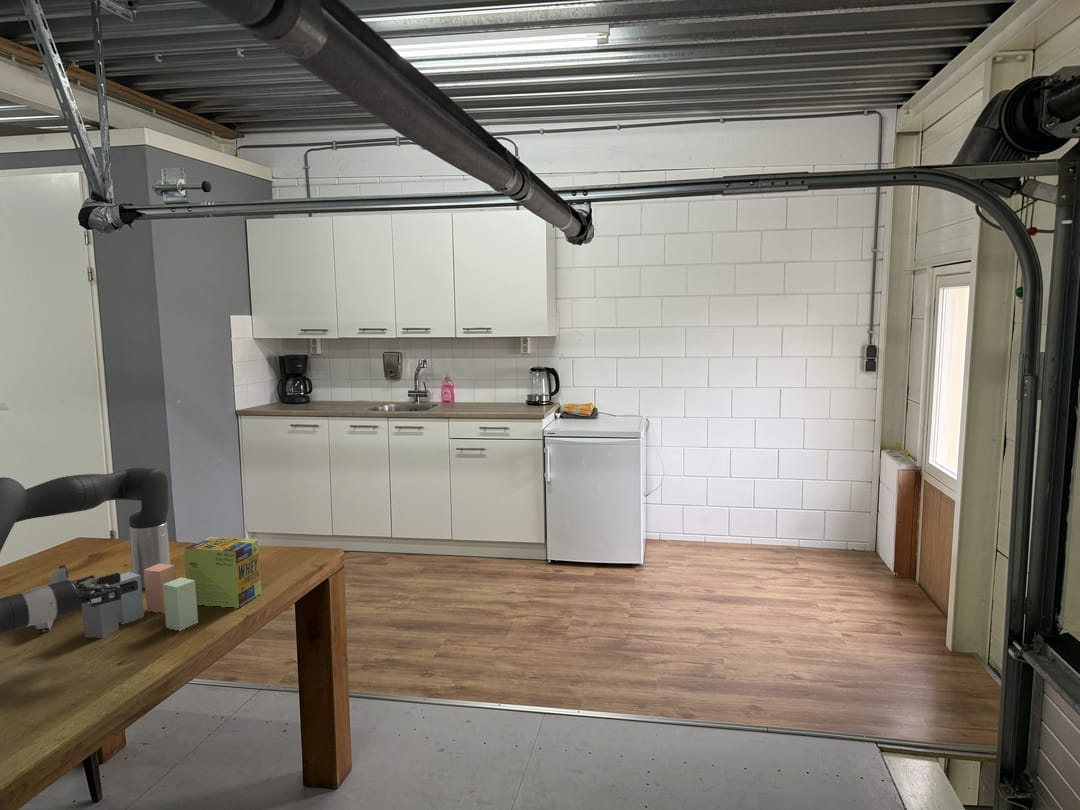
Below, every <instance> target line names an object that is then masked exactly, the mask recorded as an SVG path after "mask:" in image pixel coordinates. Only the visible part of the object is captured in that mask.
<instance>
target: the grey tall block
mask: <svg viewBox="0 0 1080 810" xmlns="http://www.w3.org/2000/svg"><path fill="white" fill-rule="evenodd" d="M109 586H111V585H109ZM102 590H103V589H102ZM110 594H114V592H113V593H110ZM81 611H82V612H81V613H82V622H83V623H82V624H83V634H84V637H85V636H90V637H89V638H93V637H99V638H98V639H104V638H106V637H108V636H110V635H111V634H110V633H112V632H113V633H115V632H117V631H118V629H119V630H120V626H119V624H120V623H119V622H118V611H117V600H116V601H112V602H109V603H105V604H101V605H98V606H94V607H91V604H90V603H88V604H86V603H81ZM116 630H117V631H116ZM114 631H115V632H114ZM113 633H112V634H113ZM109 634H110V635H109ZM107 635H108V636H107ZM105 636H106V637H105ZM103 637H104V638H103Z"/></svg>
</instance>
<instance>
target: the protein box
mask: <svg viewBox="0 0 1080 810" xmlns="http://www.w3.org/2000/svg"><path fill="white" fill-rule="evenodd" d="M183 553H184V567H185V578H186V579H191V580H195V588H196V601H197V606H201V605H205V606H204V607H213V606H221V607H220V608H225V607H234V608H233V609H237V608H239V607H240V608H241V606H242V605H243V606H245V605H246V604H248V603H249V601H250V600H251V601H253V600H254V599H255V597H256V598H257V597H259V596H260V595H262V579H261V566H260V565H261V564H260V550H259V539H257V538H239V537H219V536H208V537H206V538H205V539H202V540H200V541H197V542H195V543H193V544H191V545H188V546H186V547H185V548H183ZM258 595H259V596H258ZM252 599H253V600H252ZM251 601H250V602H251ZM247 602H248V603H247ZM245 603H246V604H245ZM244 604H245V605H244ZM243 606H242V607H243ZM240 608H239V609H240Z"/></svg>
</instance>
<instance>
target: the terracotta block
mask: <svg viewBox="0 0 1080 810" xmlns="http://www.w3.org/2000/svg"><path fill="white" fill-rule="evenodd" d="M144 579H145V588H144V589H145V590H144V591H145V600H146V602H145V603H146V611H147V612H150V611H153V612H152V613H158V612H161V613H160V614H164V613H165V606H164V594H163V584H165V583H167V582H170V581H173V580H175V579H177V577H176V565H175V564H170V565H169V564H160V563H159V564H157V565H154V566H152V567H150V568H147V569H145V570H144ZM163 612H164V613H163Z"/></svg>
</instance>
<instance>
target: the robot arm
mask: <svg viewBox="0 0 1080 810" xmlns="http://www.w3.org/2000/svg"><path fill="white" fill-rule="evenodd" d="M119 500H123V501H124V500H125V501H126V500H127V501H128V500H129V501H138V502H139V501H140V502H141V507H140V511H138V512H134V513H133V514H131V515H130V516H129V519H128V523H129V524H128V526H129V533H130V534H129V535H130V544H131V551H130V553H129V554H130V565H131V572H132V573H135V574H138V575H140V577H141V589H145V579H144V570H145V569H147V568H150V567H152V566H154V565H157V564H159V563H160V564H169V565H171V558H170V547H169V534H168V521H167V520H168V519H167V518H168V517H167V516H168V512H169V483H168V477H167V475H166V473H165V472H164V471H163V470H162V469H160V468H151V467H131V468H127V469H124V470H118V471H116V472H115V471H114V472H111V473H104V474H103V473H86V474H75V475H74V474H73V475H65V476H61V477H58V478H57V477H56V478H54V479H50V480H48V481H47V480H46V481H45V482H42V483H39V484H37V485H33V486H32V487H29V488H25V487H24V485H23V484H22V483H20V482H19V481H18V480H16V479H13V478H10V477H1V476H0V553H1V552H2V550H3V547H4V546H5V543H6V541H7V539H8V536H9V535H10V534H11V531H12V529H13V527H14V526H15V523H18V522H23V521H25V520H31V519H37V518H45V517H52V516H56V515H57V516H58V515H65V514H73V513H79V512H84V511H88V510H92V509H95V508H96V507H99V506H100V505H102V504H103V503H105V502H108V501H109V502H110V501H119ZM120 574H121V573H119V572H115V573H112V574H107V575H103V576H99V575H97V576H95V575H89V576H85V577H82V578H78V579H74V580H70V579H68V580H64V581H60V582H57V583H53V584H49V585H48V584H46V585H41V586H37V587H34V588H31V589H28V590H26V591H22V592H18V593H16V594H12V595H8V596H3V597H1V598H0V634H1V635H2V634H5V633H9V632H13V631H16V630H20V629H23V628H26V627H31V626H35V625H37V624H41V623H45V622H48V621H52V620H54V621H55V620H58V619H62V618H65V617H68V616H71V615H75V614H76V613H77V612H78V610H79V608H80V606H81V605H82V603H86V604H88V603H90V604H91V607H94V606H98V605H101V604H105V603H109V602H112V601H116V600H120V599H121V595H122V594H125V593H129V592H132V591H135V590H137V589H138V582H137V581H135V580H133V581H130V582H126V583H122V584H119V585H112V584H115V583H119V582H120V581H121V577H120ZM109 585H111V586H109ZM102 589H103V590H102ZM113 592H114V594H110V593H113Z"/></svg>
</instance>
